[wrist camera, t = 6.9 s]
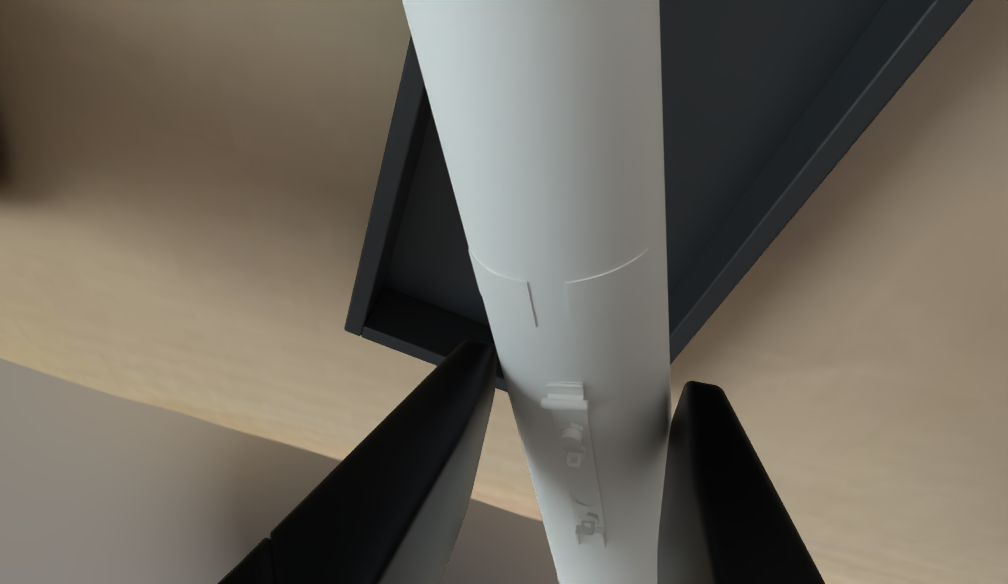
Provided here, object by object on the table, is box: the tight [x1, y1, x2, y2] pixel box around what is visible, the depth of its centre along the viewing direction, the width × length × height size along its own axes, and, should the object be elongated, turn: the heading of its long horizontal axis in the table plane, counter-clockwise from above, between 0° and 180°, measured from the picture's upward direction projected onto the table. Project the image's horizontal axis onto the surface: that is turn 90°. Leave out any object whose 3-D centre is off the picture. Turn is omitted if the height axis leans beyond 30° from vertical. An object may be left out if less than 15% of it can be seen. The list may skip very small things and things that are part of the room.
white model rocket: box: [402, 0, 672, 584], centre depth 8 cm, size 18×2×2 cm, turn 10°
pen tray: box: [345, 0, 973, 392], centre depth 15 cm, size 10×23×2 cm, turn 162°
